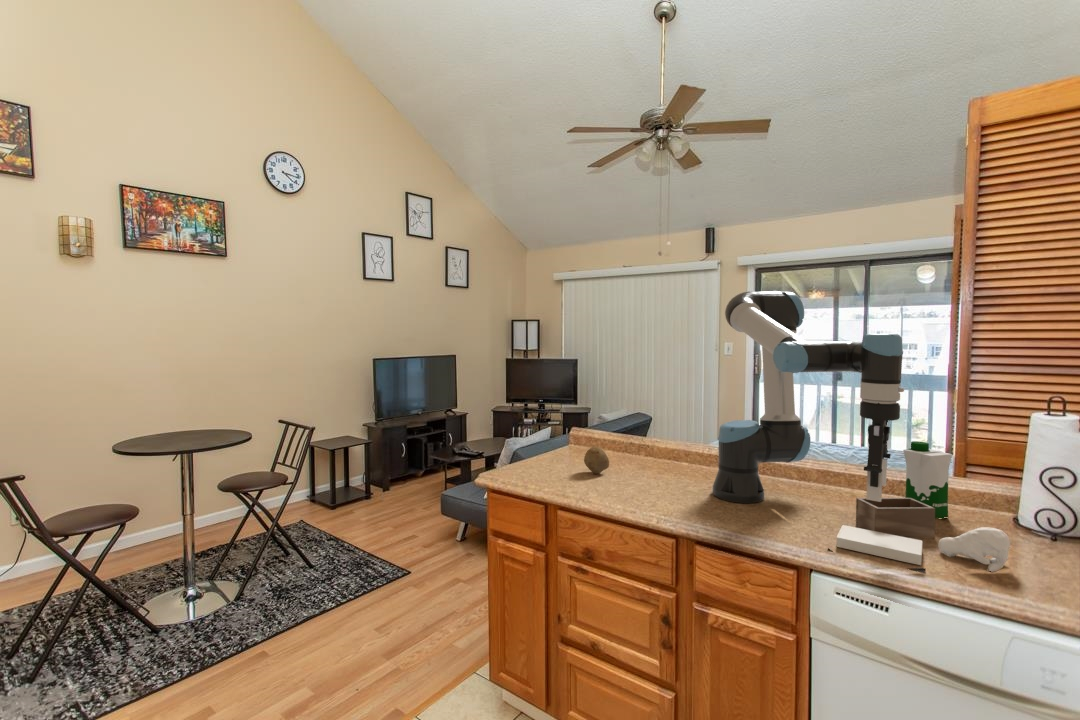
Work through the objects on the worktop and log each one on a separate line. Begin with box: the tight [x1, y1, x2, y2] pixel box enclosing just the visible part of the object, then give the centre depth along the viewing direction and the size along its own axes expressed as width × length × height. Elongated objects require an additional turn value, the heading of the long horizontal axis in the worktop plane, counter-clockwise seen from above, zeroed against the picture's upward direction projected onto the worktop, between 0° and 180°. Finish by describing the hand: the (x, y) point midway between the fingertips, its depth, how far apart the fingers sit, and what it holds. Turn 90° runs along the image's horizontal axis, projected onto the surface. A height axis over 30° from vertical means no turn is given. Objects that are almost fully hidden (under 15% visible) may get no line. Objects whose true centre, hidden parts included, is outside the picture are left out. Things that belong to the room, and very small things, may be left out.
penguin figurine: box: [937, 526, 1011, 573], centre depth 108 cm, size 6×8×12 cm
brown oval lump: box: [583, 446, 610, 475], centre depth 182 cm, size 9×9×10 cm
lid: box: [835, 524, 923, 566], centre depth 113 cm, size 10×16×3 cm, turn 51°
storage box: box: [855, 497, 936, 539], centre depth 124 cm, size 8×14×8 cm, turn 89°
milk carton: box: [903, 440, 953, 519], centre depth 136 cm, size 9×9×20 cm
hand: (876, 492), depth 114 cm, fingers open, 13 cm apart
